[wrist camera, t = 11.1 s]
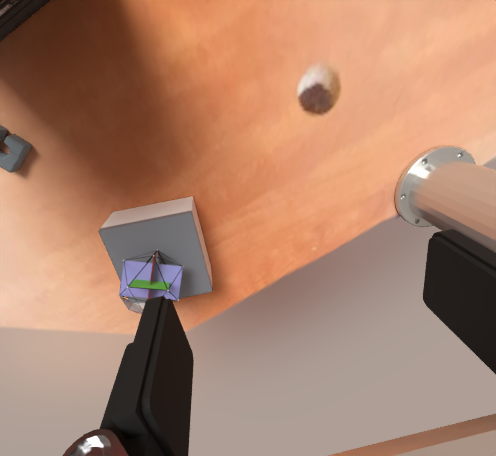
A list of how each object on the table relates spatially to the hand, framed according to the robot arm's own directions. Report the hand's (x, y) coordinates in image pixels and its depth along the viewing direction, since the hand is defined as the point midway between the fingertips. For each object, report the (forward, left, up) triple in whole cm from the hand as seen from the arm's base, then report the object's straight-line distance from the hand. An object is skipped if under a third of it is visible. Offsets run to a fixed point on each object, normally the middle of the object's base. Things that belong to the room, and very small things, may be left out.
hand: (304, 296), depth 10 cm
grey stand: (+12, +12, -31) cm, 35 cm away
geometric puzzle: (+12, +12, -25) cm, 30 cm away
